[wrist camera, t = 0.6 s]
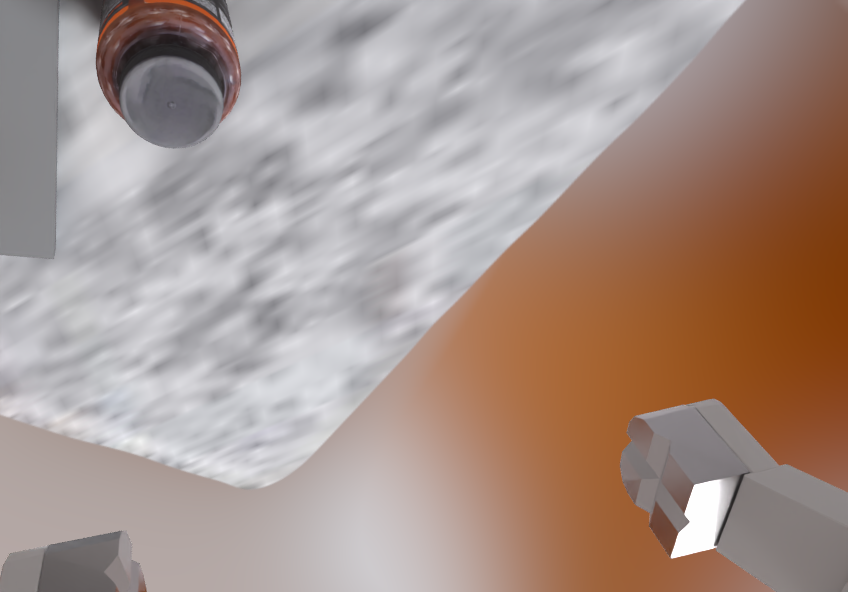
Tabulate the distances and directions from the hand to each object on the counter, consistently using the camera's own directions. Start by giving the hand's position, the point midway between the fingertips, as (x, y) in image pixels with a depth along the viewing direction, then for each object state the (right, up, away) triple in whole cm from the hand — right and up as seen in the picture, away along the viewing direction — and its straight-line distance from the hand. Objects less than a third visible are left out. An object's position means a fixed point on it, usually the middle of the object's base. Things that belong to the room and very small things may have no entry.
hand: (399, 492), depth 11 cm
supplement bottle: (-13, +18, +25) cm, 34 cm away
